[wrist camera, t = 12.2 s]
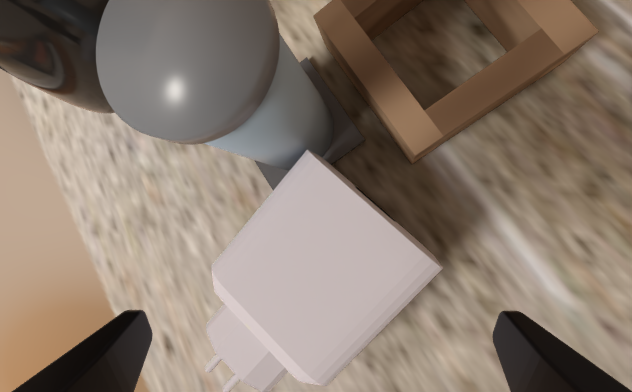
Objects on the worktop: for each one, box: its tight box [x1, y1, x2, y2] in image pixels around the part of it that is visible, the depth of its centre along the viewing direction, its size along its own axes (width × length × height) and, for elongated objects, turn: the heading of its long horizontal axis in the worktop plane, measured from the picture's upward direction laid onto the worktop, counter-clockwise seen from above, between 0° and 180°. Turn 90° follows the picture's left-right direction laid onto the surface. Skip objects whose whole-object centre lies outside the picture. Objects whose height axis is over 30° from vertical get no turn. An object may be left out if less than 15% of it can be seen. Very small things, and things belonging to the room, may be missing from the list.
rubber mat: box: [254, 57, 365, 190], centre depth 22 cm, size 7×7×1 cm
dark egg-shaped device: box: [0, 0, 115, 113], centre depth 18 cm, size 10×10×15 cm
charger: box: [205, 149, 443, 392], centre depth 19 cm, size 5×9×15 cm
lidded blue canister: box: [96, 0, 334, 170], centre depth 16 cm, size 6×6×12 cm
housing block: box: [314, 0, 599, 164], centre depth 18 cm, size 10×10×4 cm
